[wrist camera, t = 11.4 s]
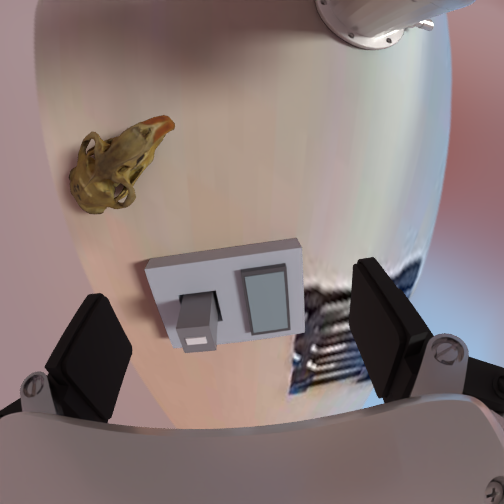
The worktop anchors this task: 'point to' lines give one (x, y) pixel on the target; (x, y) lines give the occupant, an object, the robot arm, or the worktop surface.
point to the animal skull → (115, 164)
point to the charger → (198, 322)
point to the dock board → (235, 289)
